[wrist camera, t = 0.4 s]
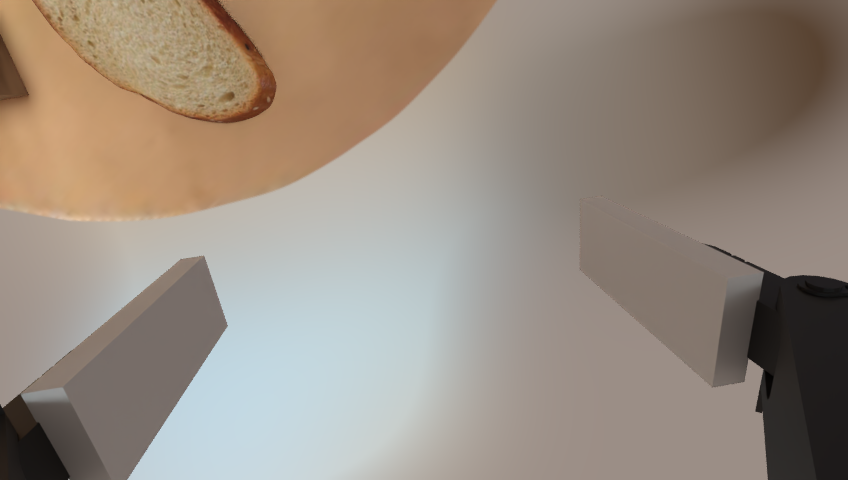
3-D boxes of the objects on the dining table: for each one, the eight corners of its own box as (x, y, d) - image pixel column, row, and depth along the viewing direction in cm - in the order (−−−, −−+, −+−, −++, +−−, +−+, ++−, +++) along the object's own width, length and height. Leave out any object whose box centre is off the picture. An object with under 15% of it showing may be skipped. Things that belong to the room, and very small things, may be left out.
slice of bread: (282, 121, 39) (272, 123, 35) (75, 125, 37) (43, 129, 33) (252, -116, 33) (236, -141, 29) (4, -123, 31) (-44, -150, 27)
